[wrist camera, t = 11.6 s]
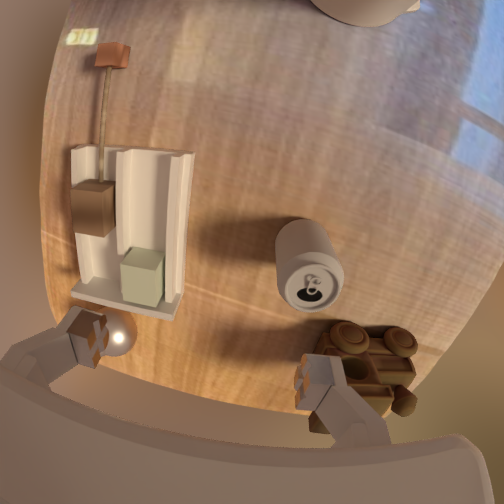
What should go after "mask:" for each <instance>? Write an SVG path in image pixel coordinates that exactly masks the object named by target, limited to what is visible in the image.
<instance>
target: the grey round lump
mask: <svg viewBox="0 0 504 504" xmlns="http://www.w3.org/2000/svg"><path fill="white" fill-rule="evenodd" d="M96 312H98V313H101V314H104V315H106V318H107V323H106V325H105V326H106V327H107V328H108V330H109V341H108V345H107V347H106V349H105V351H103V352H101V353H100V356H101V357H102V356H105V355H108V356H121V355H124V354H126V353H127V352H129V351H130V350H131V349H132V348H133V346H134V345H135V343H136V340H137V333H138V332H137V325H136V323H135V320H134V319H133V317H132V316H131V314H130V313H129V312H127V311H124V310H120V309H116V308H112V307H108V306H106V307H103V308H101V309H99V310H98V311H96Z"/></svg>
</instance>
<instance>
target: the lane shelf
mask: <svg viewBox="0 0 504 504" xmlns="http://www.w3.org/2000/svg"><path fill="white" fill-rule="evenodd" d="M194 157H195V152H190V151H181V150H171V149H161V148H150V147H137V146H122V145H104V180H109V181H116V227H115V228H114V229H113V230H112V231H110V232H109V233H108V234H107V235H106V236H105V237H104V238H102V237H97V236H91V235H86V234H80V233H75V238H76V247H77V254H78V262H79V268H80V275H81V279H80V280H79V281H78V282H77V284H76V285H75V286H74V287H73V288H72V289H71V296H72V297H74V298H78V299H81V300H85V301H89V302H92V303H96V304H100V305H104V306H108V307H112V308H116V309H120V310H124V311H128V312H133V313H137V314H142V315H146V316H151V317H155V318H160V319H165V320H170V321H173V319H174V317H175V314H176V312H177V309H178V306H179V304H180V301H181V299H182V296H183V294H184V278H185V259H186V244H187V230H188V217H189V206H190V195H191V185H192V175H193V166H194ZM88 179H99V144H82V145H79V146H77V148H74V149H71V181H72V188H73V187H75V186H77V185H78V184H80V183H82V182H84V181H86V180H88ZM133 247H138V248H144V249H150V250H155V251H161V252H166V260H165V290H164V292H163V294H162V296H161V298H160V300H159V302H158V304H157V307H151V306H147V305H142V304H138V303H133V302H129V301H124V300H123V292H122V281H121V270H120V263H121V262H122V261H123V260H124V258H125V257H126V256H127V255H128V254H129V252H130V251H131V250H132V249H133Z"/></svg>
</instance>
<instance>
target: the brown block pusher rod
mask: <svg viewBox="0 0 504 504" xmlns="http://www.w3.org/2000/svg"><path fill="white" fill-rule="evenodd" d="M129 53H130V47H129V46H126V45H123V44H120V43H117V42H111V43H102V44H98V49H97V55H96V61H95V66H97V67H104V68H107V69H106V76H105V83H104V92H103V101H102V111H101V124H100V141H99V179H88V180H86V181H84V182H82V183H80V184H78V185H77V186H75V187H73V188H71V189H70V198H71V213H72V224H73V232H75V233H80V234H86V235H91V236H97V237H102V238H104V237H105V236H106V235H107V234H108V233H109V232H110V231H112V230H113V229H114V228H115V227H116V181H109V180H104V144H105V127H106V114H107V103H108V94H109V86H110V78H111V71H112V69H113V68H127V65H128V59H129Z"/></svg>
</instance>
